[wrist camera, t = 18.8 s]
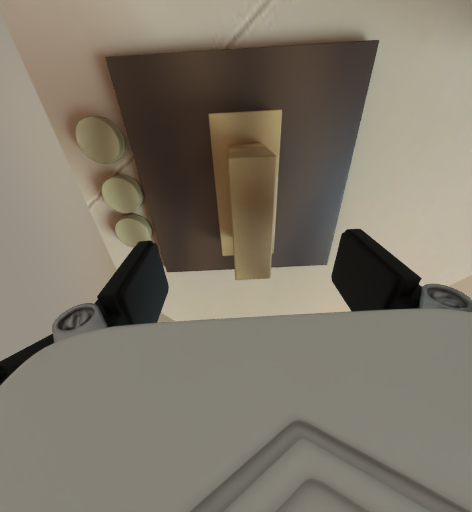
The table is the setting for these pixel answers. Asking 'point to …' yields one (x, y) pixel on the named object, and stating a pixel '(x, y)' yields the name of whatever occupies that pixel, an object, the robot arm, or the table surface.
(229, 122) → the brush
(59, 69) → the table surface
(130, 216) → the token
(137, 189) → the disc
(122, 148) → the token
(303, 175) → the tray
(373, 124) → the table surface
